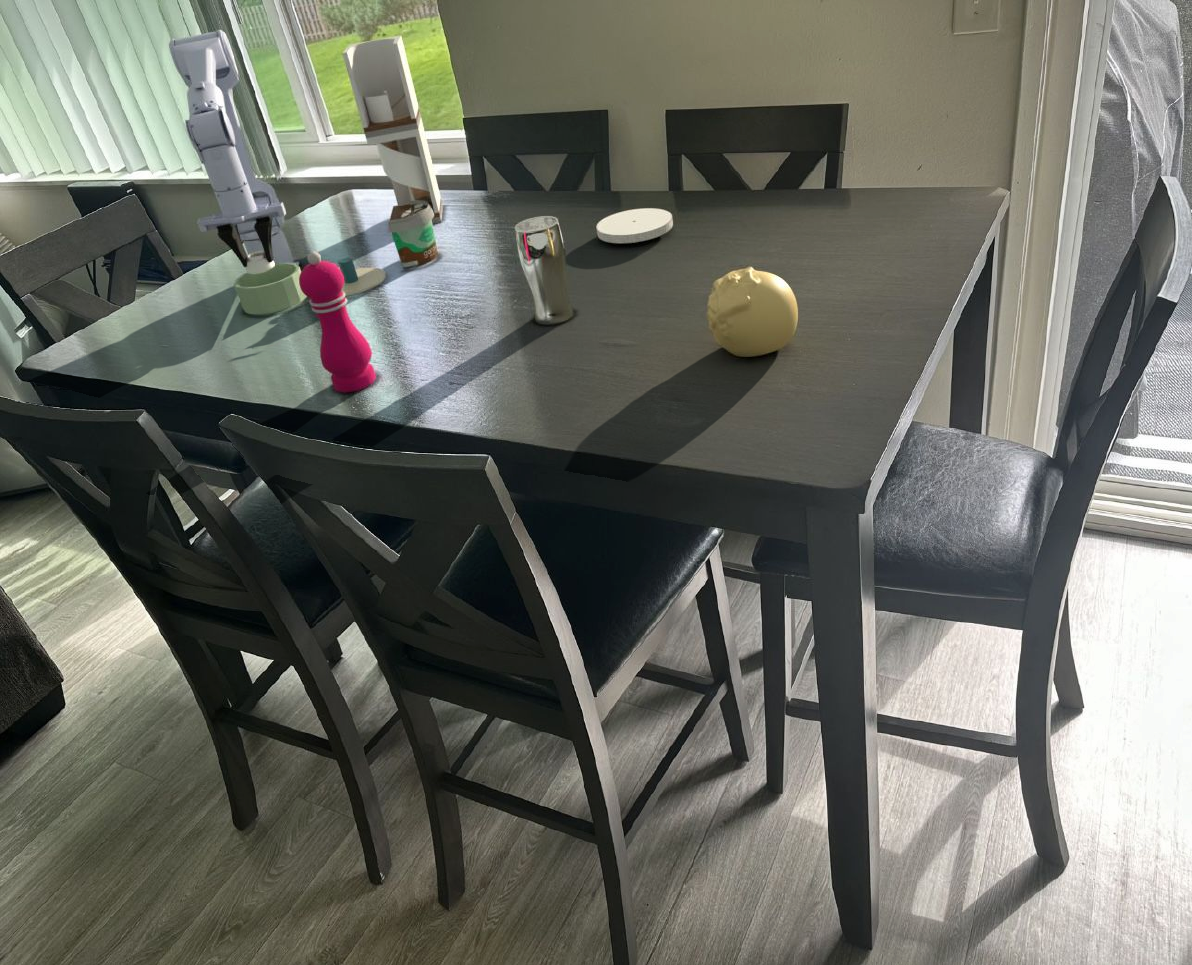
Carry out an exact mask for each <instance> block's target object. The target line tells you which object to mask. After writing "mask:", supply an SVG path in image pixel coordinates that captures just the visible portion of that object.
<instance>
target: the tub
mask: <svg viewBox="0 0 1192 965" xmlns="http://www.w3.org/2000/svg"><path fill="white" fill-rule="evenodd" d="M301 271H302V270H301V267H300V266H299V265H297V264H293V263H277V264H275V266H274V267H273V268H272V269H270V270H269V271H266V272H264V273H260V274H249V273H247V272H245V273H243V274H241V275H240V276H238V277H237V278H236V279H235V280H234V283H233V286H234V288H235V291H236V293H237V296H238V299H239V302H240V304H241V307H242V309H243V311H244V312H245V313H246V314H250V315H267V314H272V313H277V312H280V311H283V310H286V309H289V308H293V307H294V306H296V305H298V304H300V303H301V302H303V301H304V300H305V299H306V298H308V297H307V296H306V295H305V294H304V293H303V292H302V290H301V288H300V284H299V276H300V273H301Z"/></svg>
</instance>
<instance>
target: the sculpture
mask: <svg viewBox="0 0 1192 965" xmlns="http://www.w3.org/2000/svg"><path fill="white" fill-rule="evenodd" d="M798 308H799V307H798V303H797V299H796V296H795V294H794V292H793V290H792V288H791V286H790V285H789V284H788V283H787V281H785V280H784V279H783V278H781V277H780V276H778V275H776V274H774V273H771V272H768V271H762V270H756V269H754V268H753V267H752V266H748V267H746V268H742V269H737V270H732V271H730V272H728V273H726V274H725V275H723V277H721V278H718V279H716V280H715V281H714V282H713V284H712V288H711V294H710V295H708V302H707V312H706V320H707V322H708V323H709V325H708V330H709V332H710V333H712V335H713V339H714V341H715V343H717V345H718V346H719V347H720V348H723V349H724V350H726V351H727V352H729V353H730V354H731V355H734V356H736V357H742V358H750V357H758V356H759V357H760V356H763V355H767V354H770V353H773V352H776V351H779V350H780V349H782V348H784V347H786V346H787V345H788V344H789V343H790V342H791V340H792V338H793V337H794V335H795V332H796V329H797V326H798V320H799V309H798Z"/></svg>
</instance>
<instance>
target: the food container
mask: <svg viewBox="0 0 1192 965" xmlns="http://www.w3.org/2000/svg"><path fill="white" fill-rule="evenodd" d="M410 204H411V206H410V207H409V208H408V209H407V210H406V211H403V212H401V213H400V215H399V216H398V218H397V219H396V220H390V219H389V220H387V226H388V232H389V233H390V234H391V236H392V239H393V242H394V245H395V249H396V251H397V254H398V257H399V261H400V263H401V266H402V269H411V268H416V267H419V266H423V265H425V264H428V263H430V262H432V261H434V260H435V259H436V258H437V257H438V248H437V242H436V236H435V231H434V226H433V224H432V218H433V217H434V213H433V210H432V208H431V207H430V205H429V204H428V203H427V202H425V201H421V200H412V201H410Z"/></svg>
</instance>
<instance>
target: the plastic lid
mask: <svg viewBox="0 0 1192 965" xmlns="http://www.w3.org/2000/svg"><path fill="white" fill-rule="evenodd" d="M673 227H674V220H673V214H672V213H671V212H670V211H668V210H665V209H661V208H654V207H653V208H652V207H650V208H649V207H647V208H646V207H645V208H634V209H628V210H624V211H619V212H616V213H613V214H610V215H608V216H605V217H604V218H603V219H601V220H599V221H598V222H597V224H596V235H597V237H598V239H599V240H601V241H603V242H606V243H611V244H632V243H633V244H635V243H639V242H645V241H649V240H652V239H655V238H658V237H661V236H663V235H665V234H667V233H668V232H669V231H671V230H672V228H673Z"/></svg>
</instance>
